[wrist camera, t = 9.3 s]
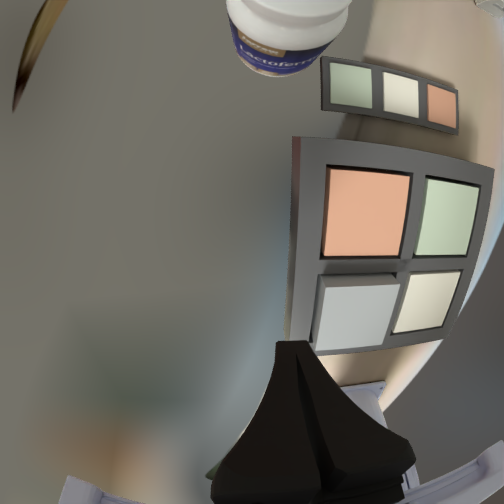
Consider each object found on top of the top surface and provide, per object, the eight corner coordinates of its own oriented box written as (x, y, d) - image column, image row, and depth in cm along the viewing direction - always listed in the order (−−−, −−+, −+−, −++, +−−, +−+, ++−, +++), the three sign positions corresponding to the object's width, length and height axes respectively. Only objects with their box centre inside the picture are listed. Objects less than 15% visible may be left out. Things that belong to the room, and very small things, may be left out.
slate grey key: (369, 321, 22) (381, 344, 19) (309, 325, 22) (315, 350, 19) (383, 264, 19) (400, 284, 17) (316, 265, 19) (325, 287, 17)
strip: (453, 90, 15) (459, 90, 14) (454, 134, 17) (459, 135, 16) (320, 58, 15) (322, 55, 14) (320, 110, 17) (323, 109, 16)
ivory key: (427, 307, 23) (441, 325, 20) (381, 312, 23) (393, 332, 20) (442, 257, 20) (460, 272, 18) (394, 257, 20) (411, 275, 18)
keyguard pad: (432, 316, 24) (448, 337, 21) (283, 329, 24) (287, 357, 21) (467, 161, 17) (494, 168, 14) (292, 136, 18) (300, 136, 14)
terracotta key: (380, 239, 20) (397, 255, 17) (314, 238, 20) (324, 255, 17) (389, 169, 18) (409, 176, 15) (319, 164, 18) (330, 169, 15)
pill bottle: (235, 79, 16) (217, 26, 7) (233, 11, 14) (217, -70, 5) (319, 80, 16) (380, 37, 7) (314, 13, 14) (357, -60, 4)
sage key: (446, 240, 20) (465, 254, 17) (398, 239, 20) (415, 254, 17) (456, 179, 18) (478, 188, 15) (407, 171, 18) (428, 179, 15)
